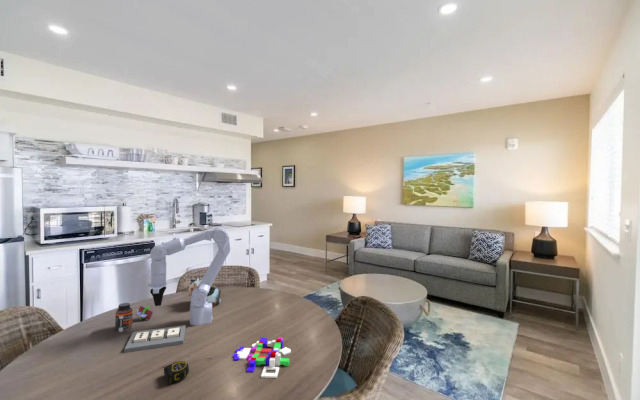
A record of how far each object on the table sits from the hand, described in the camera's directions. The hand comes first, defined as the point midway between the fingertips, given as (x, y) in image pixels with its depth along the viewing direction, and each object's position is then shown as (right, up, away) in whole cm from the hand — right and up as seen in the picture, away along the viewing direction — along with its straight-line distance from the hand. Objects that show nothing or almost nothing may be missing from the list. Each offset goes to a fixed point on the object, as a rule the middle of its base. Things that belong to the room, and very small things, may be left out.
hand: (158, 305), depth 125 cm
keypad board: (+6, -11, -11) cm, 16 cm away
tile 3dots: (0, -11, -13) cm, 16 cm away
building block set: (+48, -12, -19) cm, 53 cm away
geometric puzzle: (-11, -10, +10) cm, 18 cm away
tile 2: (+11, -11, -9) cm, 17 cm away
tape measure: (+23, -12, -33) cm, 42 cm away
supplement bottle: (-13, -10, -2) cm, 17 cm away
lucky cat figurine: (+8, -11, +31) cm, 33 cm away
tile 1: (+6, -11, -11) cm, 16 cm away
